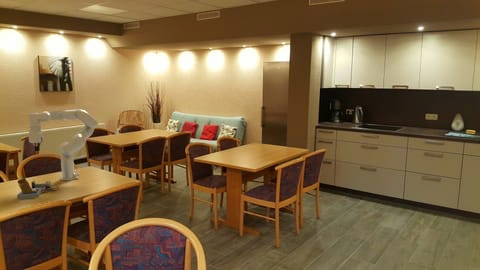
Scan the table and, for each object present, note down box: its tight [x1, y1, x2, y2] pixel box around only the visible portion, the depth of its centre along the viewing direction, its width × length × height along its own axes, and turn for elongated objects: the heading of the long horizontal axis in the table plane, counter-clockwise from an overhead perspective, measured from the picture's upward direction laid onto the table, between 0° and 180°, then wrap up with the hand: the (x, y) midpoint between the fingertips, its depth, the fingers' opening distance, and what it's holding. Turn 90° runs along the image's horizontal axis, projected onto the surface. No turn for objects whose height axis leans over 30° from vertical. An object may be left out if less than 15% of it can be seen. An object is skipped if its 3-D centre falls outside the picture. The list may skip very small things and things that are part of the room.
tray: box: [17, 188, 43, 200], centre depth 257 cm, size 13×12×3 cm
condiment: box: [17, 177, 37, 194], centre depth 255 cm, size 7×8×12 cm
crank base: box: [39, 186, 59, 193], centre depth 268 cm, size 20×6×3 cm, turn 106°
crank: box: [30, 180, 52, 189], centre depth 268 cm, size 13×5×6 cm, turn 106°
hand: (37, 150), depth 283 cm, fingers closed
